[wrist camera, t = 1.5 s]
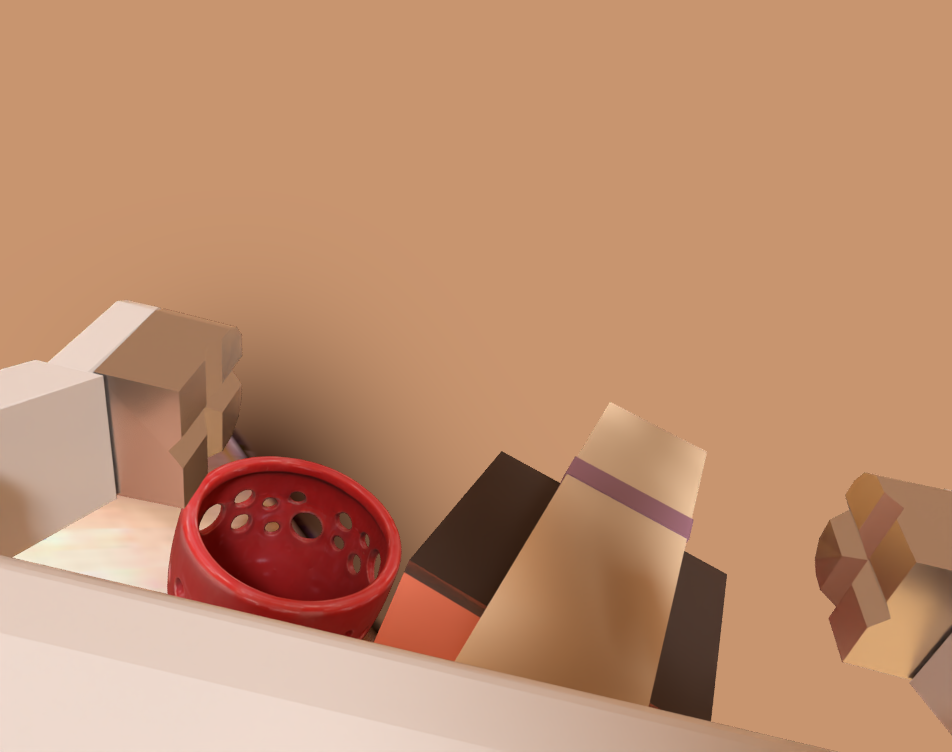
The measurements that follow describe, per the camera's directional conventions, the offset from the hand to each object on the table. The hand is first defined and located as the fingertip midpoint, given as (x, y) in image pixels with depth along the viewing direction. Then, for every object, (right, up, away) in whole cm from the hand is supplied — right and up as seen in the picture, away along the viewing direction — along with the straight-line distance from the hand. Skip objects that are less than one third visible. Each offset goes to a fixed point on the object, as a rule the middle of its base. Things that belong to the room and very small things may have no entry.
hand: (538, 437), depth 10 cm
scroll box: (+2, -7, +13) cm, 15 cm away
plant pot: (-16, -18, +40) cm, 47 cm away
